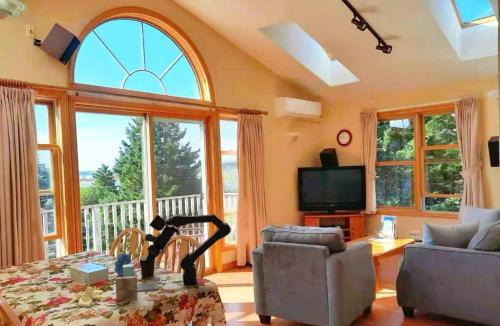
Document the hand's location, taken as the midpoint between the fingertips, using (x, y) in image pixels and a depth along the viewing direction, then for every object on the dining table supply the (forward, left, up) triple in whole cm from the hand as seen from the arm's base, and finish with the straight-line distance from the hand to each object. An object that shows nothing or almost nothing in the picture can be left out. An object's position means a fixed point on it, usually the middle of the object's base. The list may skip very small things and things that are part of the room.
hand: (147, 262), depth 198 cm
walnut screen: (+7, +17, -13) cm, 22 cm away
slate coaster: (0, +2, -13) cm, 13 cm away
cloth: (+26, +14, -13) cm, 32 cm away
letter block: (+9, +3, -13) cm, 16 cm away
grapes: (+19, -26, -13) cm, 34 cm away
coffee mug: (+3, -20, -13) cm, 24 cm away
